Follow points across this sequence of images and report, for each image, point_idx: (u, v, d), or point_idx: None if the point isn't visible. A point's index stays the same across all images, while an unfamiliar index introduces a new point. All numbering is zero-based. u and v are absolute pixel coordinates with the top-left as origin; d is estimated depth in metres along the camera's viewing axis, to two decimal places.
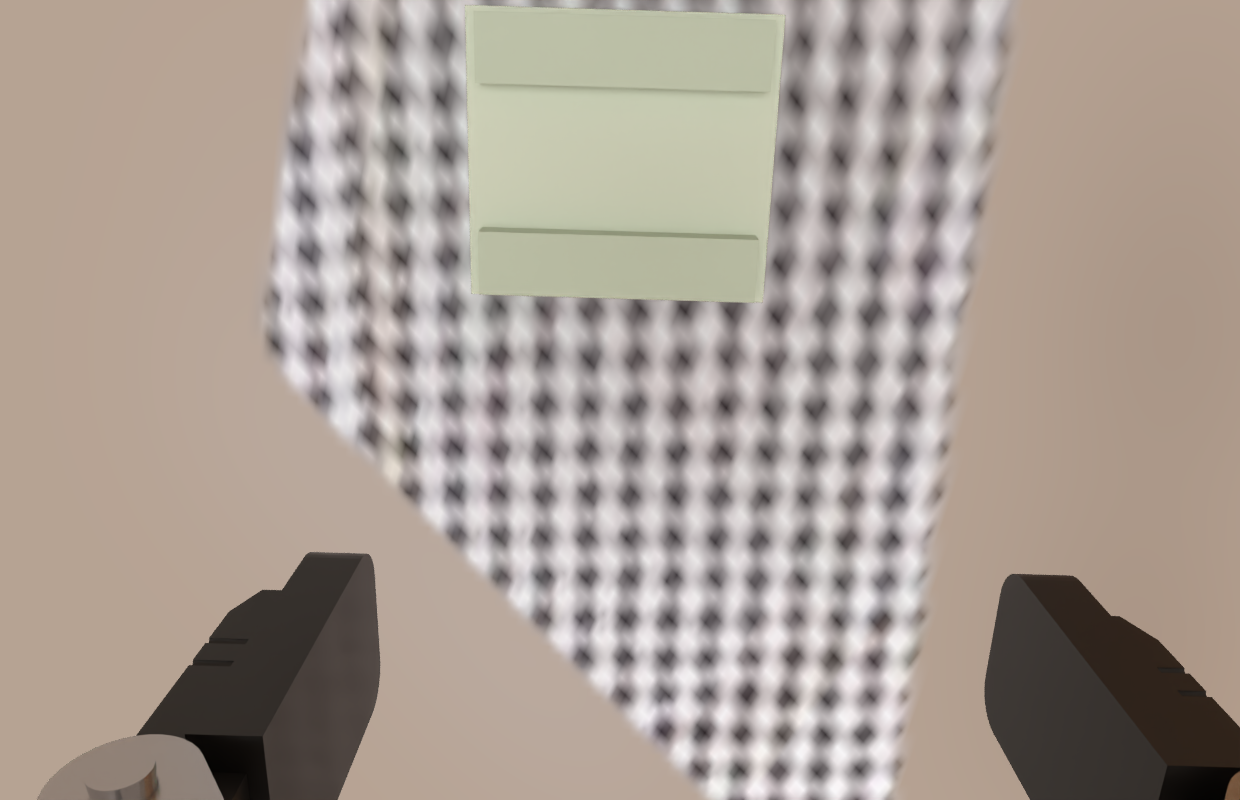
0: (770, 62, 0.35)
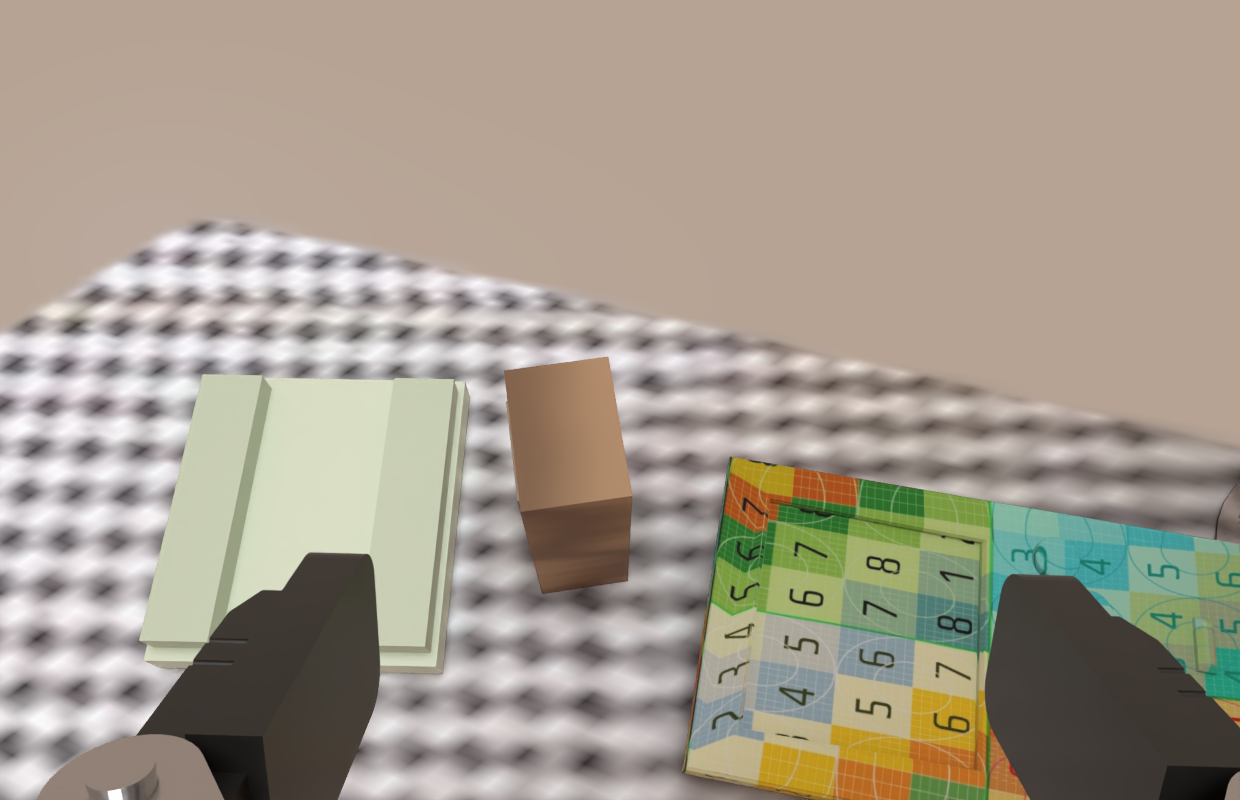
0: (385, 643, 0.35)
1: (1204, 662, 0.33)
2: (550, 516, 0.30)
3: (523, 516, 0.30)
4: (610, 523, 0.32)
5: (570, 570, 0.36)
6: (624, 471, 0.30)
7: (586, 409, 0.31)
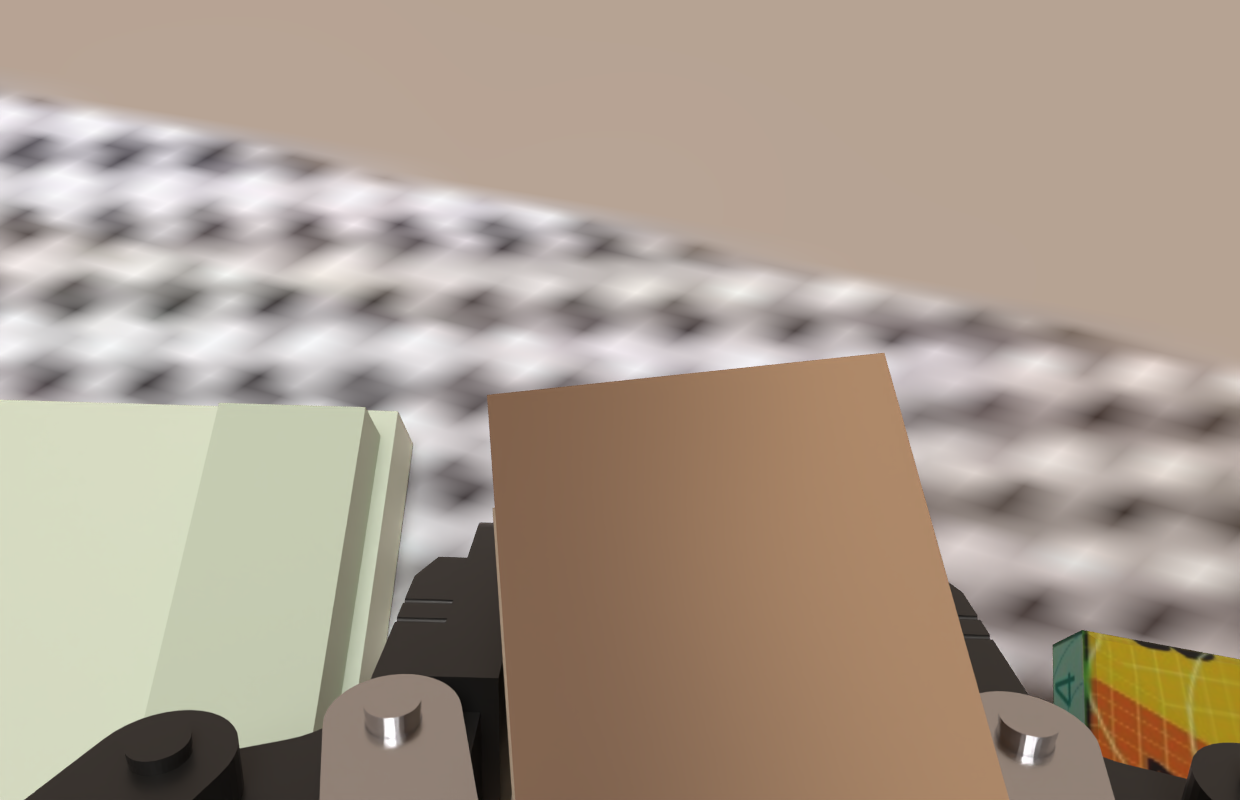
0: None
1: None
2: None
3: None
4: None
5: None
6: None
7: (819, 567, 0.07)
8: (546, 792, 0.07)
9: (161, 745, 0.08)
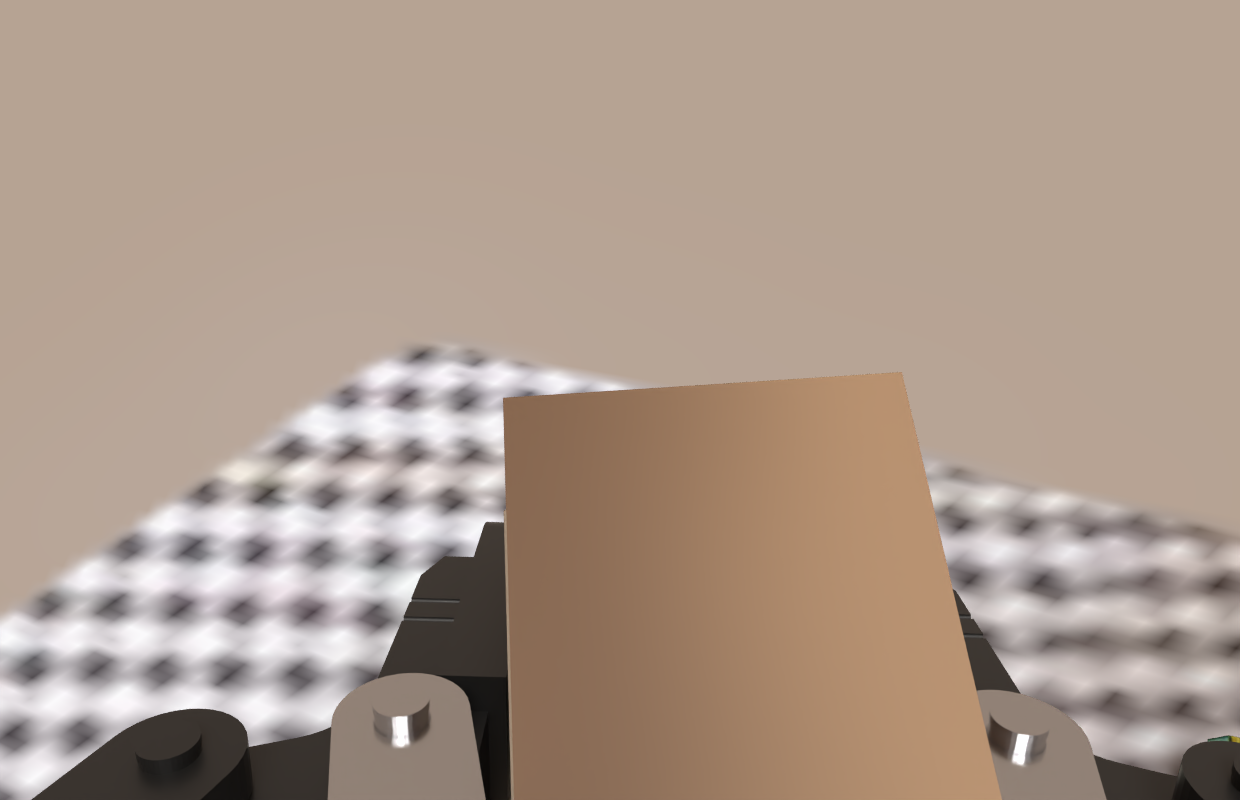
0: None
1: None
2: None
3: None
4: None
5: None
6: None
7: (828, 585, 0.07)
8: (545, 797, 0.07)
9: (170, 743, 0.08)
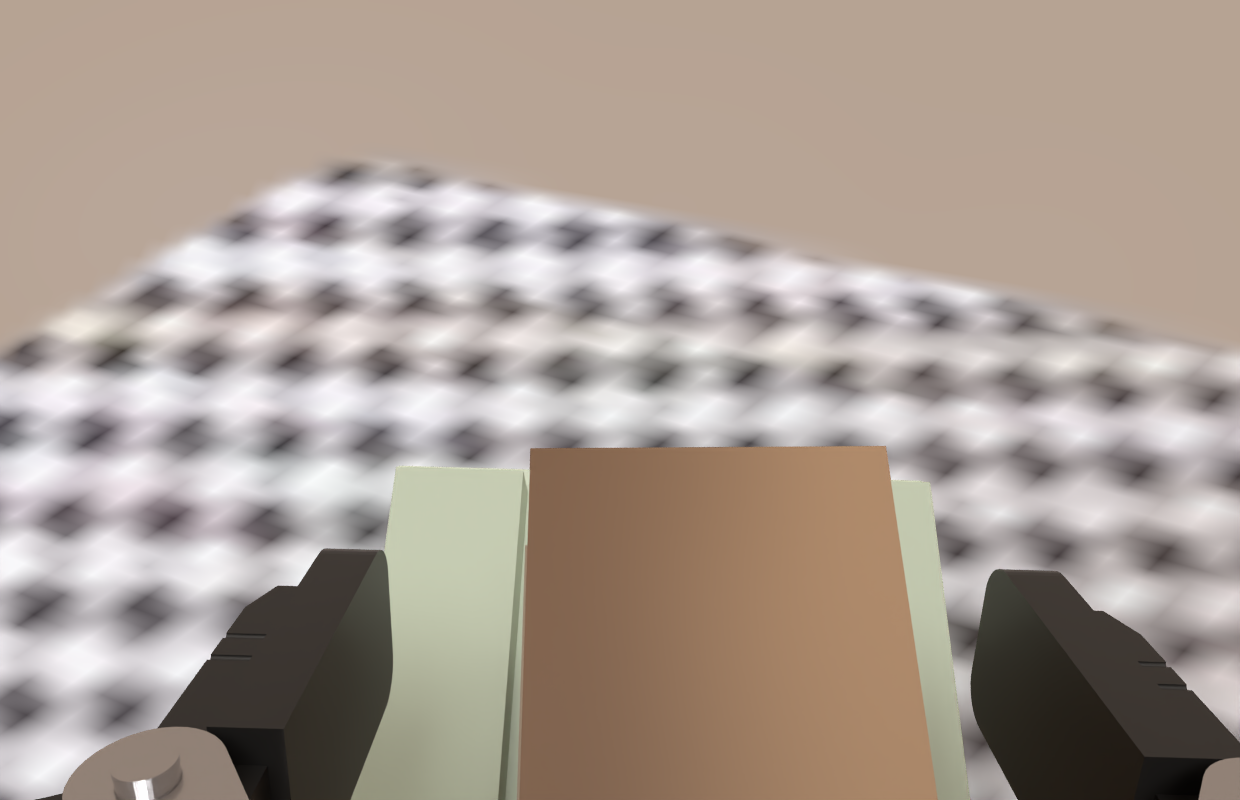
0: None
1: None
2: None
3: None
4: None
5: None
6: None
7: (805, 634, 0.09)
8: None
9: None
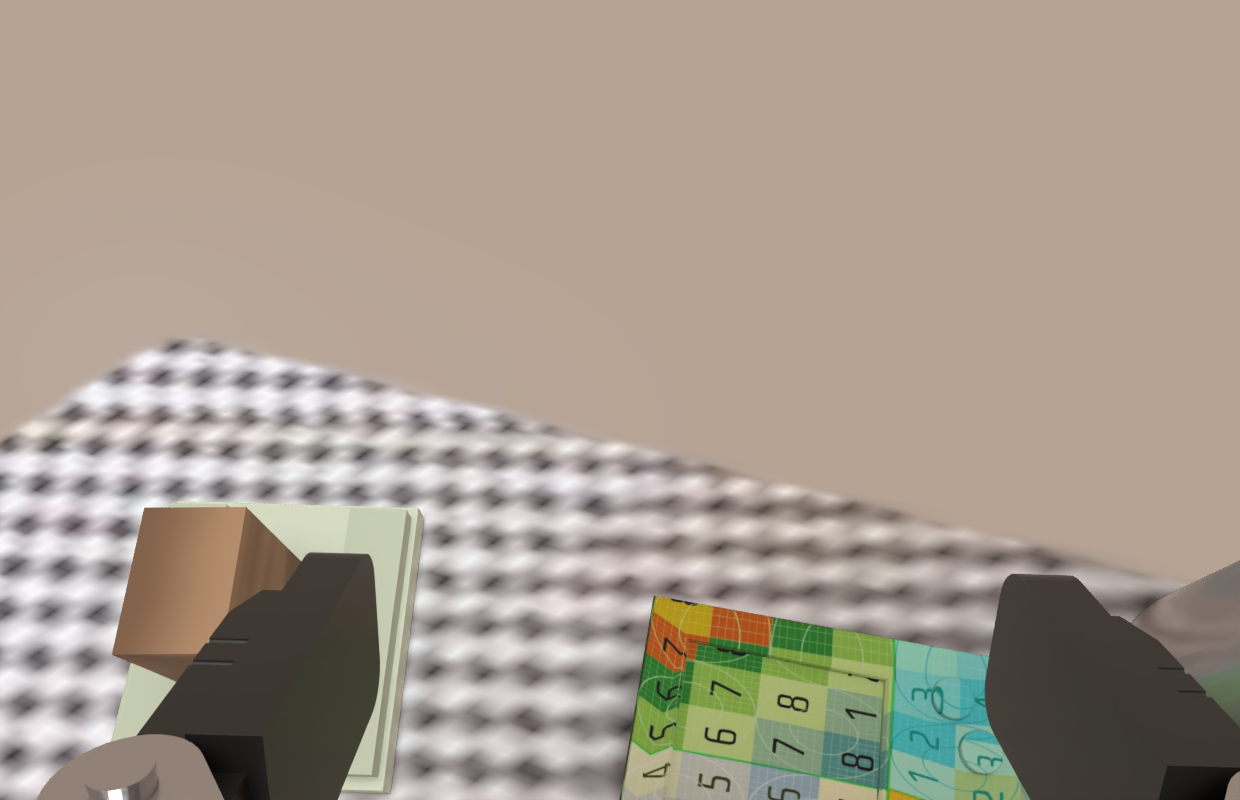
0: None
1: None
2: (150, 659, 0.31)
3: (120, 657, 0.31)
4: None
5: None
6: None
7: (208, 558, 0.32)
8: (131, 600, 0.31)
9: None
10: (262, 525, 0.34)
